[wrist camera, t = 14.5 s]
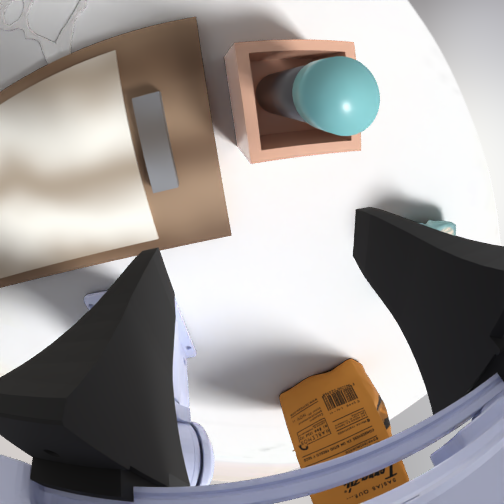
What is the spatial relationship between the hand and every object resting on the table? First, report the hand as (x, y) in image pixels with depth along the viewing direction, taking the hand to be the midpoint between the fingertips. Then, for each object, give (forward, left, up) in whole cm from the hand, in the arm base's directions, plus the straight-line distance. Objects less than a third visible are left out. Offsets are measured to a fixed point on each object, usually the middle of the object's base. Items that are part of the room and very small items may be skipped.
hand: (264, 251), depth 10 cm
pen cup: (+5, -4, -10) cm, 12 cm away
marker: (+5, -4, -10) cm, 12 cm away
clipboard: (+3, +13, -10) cm, 17 cm away
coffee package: (-30, -8, -11) cm, 33 cm away
